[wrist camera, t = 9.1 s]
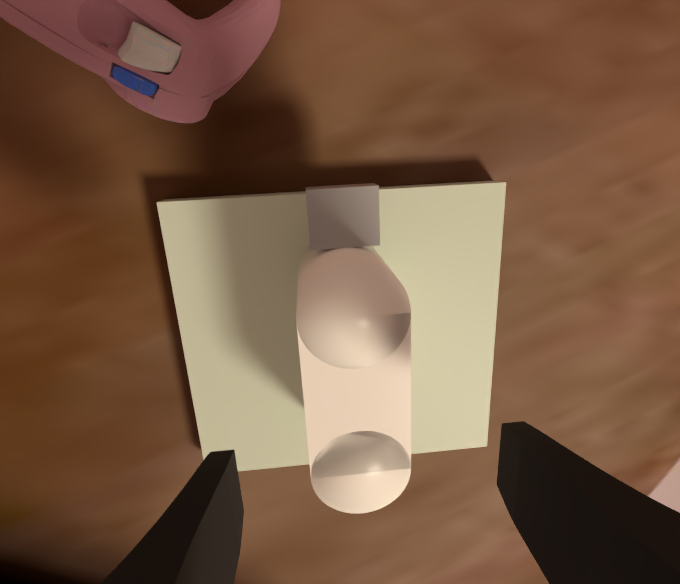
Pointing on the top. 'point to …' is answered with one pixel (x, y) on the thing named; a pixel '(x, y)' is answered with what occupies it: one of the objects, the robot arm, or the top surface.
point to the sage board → (281, 301)
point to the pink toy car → (152, 47)
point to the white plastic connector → (353, 353)
